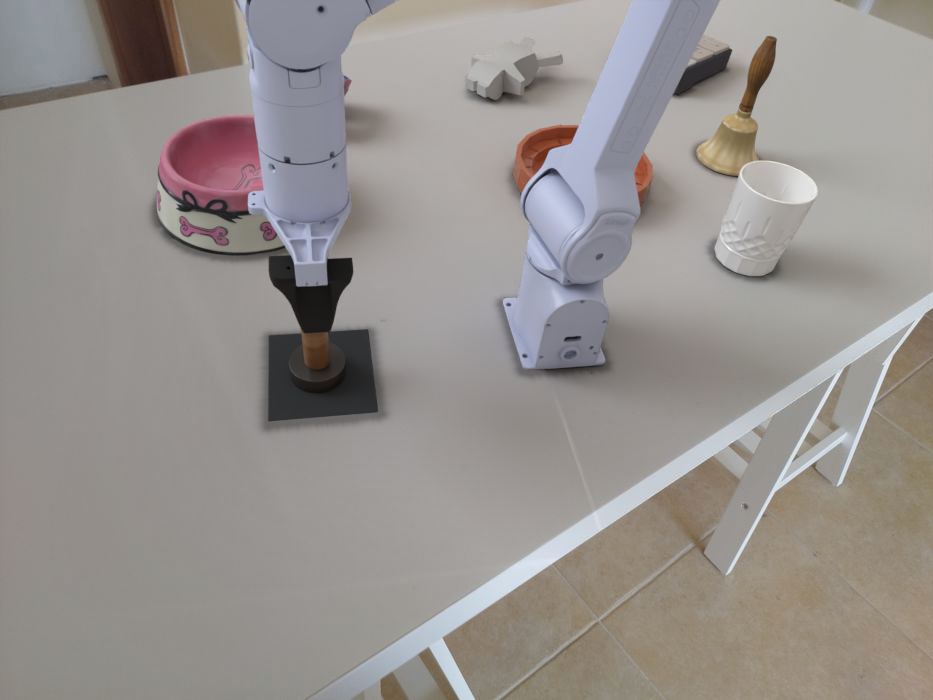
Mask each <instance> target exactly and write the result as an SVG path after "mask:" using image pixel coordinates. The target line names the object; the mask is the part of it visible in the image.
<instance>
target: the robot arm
mask: <svg viewBox="0 0 933 700" xmlns="http://www.w3.org/2000/svg"><path fill="white" fill-rule="evenodd" d="M398 1H399V0H234V2H235V4H236V6H237V8H238V10H239V11H240V12H241V14H242V16H243V20H244V22H245V24H246V37H247V46H246V56H247V61H248V65H249V66H250V67H249V72H248V82H249V89H250V97H251V104H252V112H253V116H254V121H255V128H256V136H257V143H258V150H259V158H260V165H261V173H262V181H263V188H264V190H262V191H252V192H250V193H249V195H248V210H249V213H250V214H252V215H263V216H265V217H267V219H268V220H269V222H270V223H271V225H272V227H273V228H274V230H275V231H276V233H277V234H278V236H279V238H280V239H281V241H282V242H283V244H284V246H285V247H286V248H285V249H286V250H287V252H288V253H289V254H287V255H285V254H283V255H269V256H268V276H269V280H270V282H271V284H272V286H273V287H274V288H275V289H277V290H278V291H279V292H280V293H281V294H282V295H283V296H284V297H285V298H286V300H287V301H288V303H289V305H290V306H291V309H292V311H293V313H294V317H295V318H296V321H297V323H298V325H299V327H300V330H301V329H302V331H303V333H321V332H331V331H332V329H333V325H334V322H335V317H336V313H337V307H338V304H339V301H340V298H341V296H342V294H343V292H344V291H345V290H346V288H347V287H348V286H349V285H350V284H351V283H352V280H353V277H354V262H353V257H337V258H336V257H334V258H329V256H330V253H331V251H332V249H333V247H334V246H335V243H336V241H337V239H338V237H339V235H340V233H341V231H342V229H343V227H344V225H345V224H346V221H347V219H348V217H349V215H350V213H351V210H352V195H351V192H350V191H349V184H348V183H349V182H348V160H347V159H348V158H347V156H348V155H347V153H348V152H347V151H348V150H347V134H346V133H347V132H346V131H347V130H346V105H345V101H346V100H345V97H344V76H345V75H344V73H343V71H342V68H343V67H342V55H343V54H344V52H346V50H347V48H348V47H349V45H350V43H351V41H352V39H353V36H354V33H355V30H356V29H357V27H358V26H359V25H360V24H362V23H363V22H365V21H366V20H367V19H368V18H369V17H371V16H373V15H375V14H377V13H379V12H380V11H382V10H384V9H386V8H387V7H389V6H391V5H393V4H394V3H396V2H398ZM720 2H721V0H632V1H631V4H630V5H629V6H630V7H629V8H628V11H627V14H626V16H625V18H624V21H623V23H622V25H621V27H620V29H619V32H618V34H617V37H616V38H615V41H614V42H613V43H614V44H613V46H612V48H611V50H610V52H609V55H608V57H607V60H606V61H605V65H604V66H603V68H602V71H601V74H600V76H599V78H598V80H597V82H596V85H595V88H594V90H593V92H592V94H591V97H590V99H589V101H588V104H587V106H586V108H585V110H584V113H583V116H582V118H581V121H579V127H578V129H577V131H576V134H575V136H574V138H573V141H572V143H571V144H569V145H565V146H561V147H557V148H554V149H551V150H550V151H549V153H548V155H547V158H546V160H545V162H544V164H543V165H542V167H541V168H540V170H539V171H538V172H537V173H536V174H535V175H534V176H533V177H532V178H531V179H530V181H529V182H528V183H527V184H526V186H525V188H524V190H523V192H522V193H521V195H520V200H519V201H520V202H519V206H520V211H521V214H522V215H523V217H524V218H525V219H526V220H527V222H528V223H529V225H528V232H527V235H528V240H527V243H526V249H525V256H524V260H523V261H524V262H523V266H522V272H521V275H520V276H521V277H520V283H519V288H518V292H517V297H505V298H503V299H502V306H503V309H504V312H505V316H506V318H507V322H508V325H509V329H510V332H511V335H512V338H513V342H514V345H515V348H516V351H517V354H518V357H519V361H520V364H521V367H522V368H523V370H527V371H528V370H529V371H530V370H541V369H542V370H543V369H544V370H552V369H564V368H578V367H579V368H580V367H591V366H592V367H593V366H602V365H604V364H605V363H606V361H607V360H606V359H607V358H606V357H605V354H604V352H603V349H602V344H603V341H604V339H605V334H606V331H607V329H608V325H609V323H610V322H609V321H610V310H609V307H608V303H607V301H606V297H605V294H604V293H605V292H604V279H605V278H608V277H609V276H611V275H612V274H614V272H617V270H618V269H619V268H620V267H621V266H622V265H623V264H624V262H625V261H626V259H627V258H628V256H629V254H630V251H631V249H632V245H633V233H634V229H635V226H636V224H637V221H638V219H639V218H640V216H641V212H642V211H641V207H640V204H639V198H638V193H637V188H636V182H635V176H634V170H635V168H636V166H637V164H638V162H639V160H640V158H641V156H642V154H643V153H645V150H646V149H647V146H648V144H649V143H650V140H651V139H652V137H653V134H654V133H655V131H656V129H657V127H658V125H659V123H660V121H661V119H662V117H663V115H664V113H665V111H666V109H667V107H668V105H669V103H670V101H671V99H672V97H673V95H674V94H675V93H674V91H675V89H676V87H677V85H678V83H679V81H680V79H681V77H682V75H683V73H684V71H685V69H686V67H687V65H688V63H689V61H690V59H691V57H692V55H693V53H694V51H695V49H696V47H697V45H698V43H699V42H700V40H701V38H702V36H703V35H705V31H706V30H707V28H708V26H709V24H710V22H711V20H712V18H713V16H714V14H715V13H716V12H715V11H716V10H717V8H718V6H719V4H720ZM343 75H344V76H343ZM524 356H525V357H524Z"/></svg>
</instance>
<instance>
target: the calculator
mask: <svg viewBox="0 0 933 700" xmlns="http://www.w3.org/2000/svg"><path fill="white" fill-rule="evenodd" d="M730 46H731V45H729V44H728V43H725V42H722V41H721V40H718V39H715V38H714V37H713V38H712V37H710V36H708V35H706V34H703V36H702V38H701V40H700V42H699V43H698V45H697V47H696V49H695V51H694V53H693V55H692V57H691V59H690V61H689V63H688V65H687V67H686V69H685V71H684V73H683V75H682V77H681V79H680V81H679V83H678V85H677V87H676V89H675V91H674V93H673V94H676V95H678V94H681V93H683V92H685V91H687V90H689V89H691V88H692V87H693V85H694V84H695V83H697V82H699V81H701V80H703V79H705V78H708V77H710V76H712V75H715V74H717V73H719V72H721V71H723V70H725V69H727V65H728V64H729V61H730V59H731V55H732V53H733V49H732V48H730Z"/></svg>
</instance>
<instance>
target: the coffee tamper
mask: <svg viewBox="0 0 933 700" xmlns="http://www.w3.org/2000/svg"><path fill="white" fill-rule="evenodd" d="M300 333H301V335H302V345H301V346H299V347H298V348H297V349H296V350H294V352H293V353H292V354H291V356H290V359H289V369H290V377H291V380H292V382H293V383H294V384H295V385H296V386H297V387H298V388H299V389H301V390H303V391H306V392H310V393H323V392H327V391H330V390H332V389H334V388H336V387H337V386H339V385H340V384H341V383H342V381H343V380H344V378H345V375H346V360H345V355H344V353H343V352H342V350H341V349H340V348H339V347H337V346H336V345H334V344H331V343H329V334H328V332H321V333H303V331H302V329H301V328H300Z"/></svg>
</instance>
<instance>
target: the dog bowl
mask: <svg viewBox="0 0 933 700" xmlns="http://www.w3.org/2000/svg"><path fill="white" fill-rule="evenodd" d="M157 176H158V178H157V188H156V216H157V220H158V222H159V224H160V225H161V227H162V229H163V231H165V232H166V233H167V234H168V235H169V236H170V237H171V238H172V239H173V240H175V241H177V242H178V243H181V244H182V245H184V246H186V247H188V248H191V249H194V250H197V251H200V252H203V253H207V254H212V255H213V254H214V255H221V256H238V257H239V256H252V255H259V254H266V253H271V252H275V251H279V250H283V249H286V247H285V246H284V244H283V242H282V241H281V239H280V238H279V236H278V234H277V233H276V231H275V230H274V228H273V227H272V225H271V223H270V222H269V220H268V219H267V217H265V216H263V215H252V214H250V213H249V210H248V195H249V193H250V192H252V191H262V190H264V188H263V181H262V173H261V165H260V158H259V150H258V143H257V136H256V128H255V121H254V115H249V114H230V115H229V114H228V115H221V116H215V117H214V116H213V117H209V118H205V119H202V120H197V121H195V122H192V123H189V124H188V125H185V126H183V127H182V128H180V129H178V130H177V131H176V132H174V133H173V134H172V135H170V137H169V138H168V139H167V141H166V142H165V143H164V145H163V146H162V149H161V153H160V157H159V163H158V166H157Z"/></svg>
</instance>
